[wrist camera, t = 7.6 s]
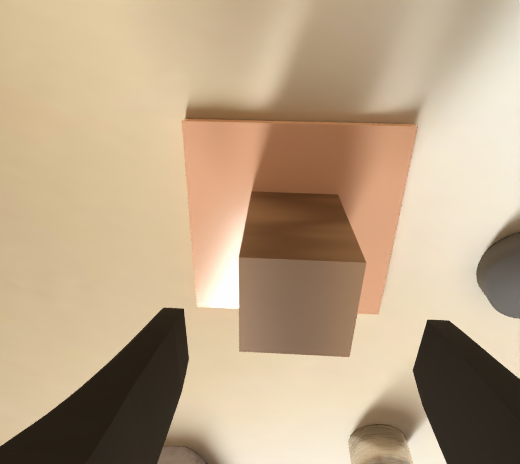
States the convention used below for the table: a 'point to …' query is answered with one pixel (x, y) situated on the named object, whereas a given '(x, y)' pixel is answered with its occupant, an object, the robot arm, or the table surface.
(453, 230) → the table surface
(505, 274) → the black rubber puck
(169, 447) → the stone block
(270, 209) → the walnut block
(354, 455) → the brushed metal tin
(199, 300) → the terracotta tile
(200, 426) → the table surface
